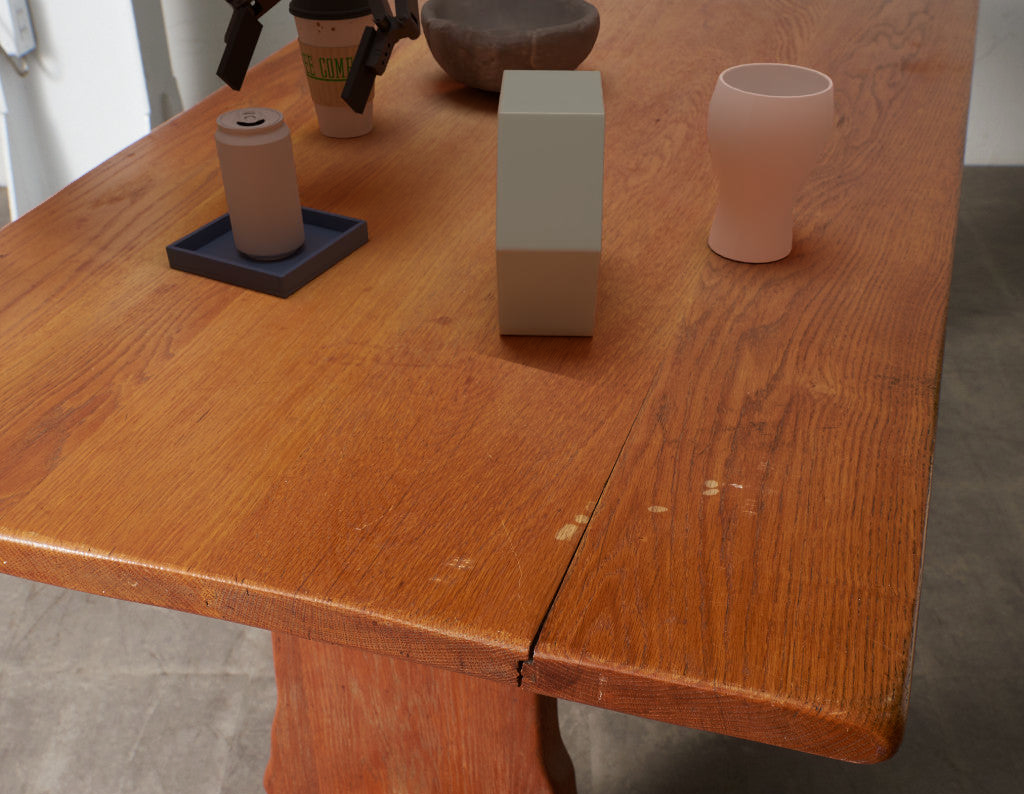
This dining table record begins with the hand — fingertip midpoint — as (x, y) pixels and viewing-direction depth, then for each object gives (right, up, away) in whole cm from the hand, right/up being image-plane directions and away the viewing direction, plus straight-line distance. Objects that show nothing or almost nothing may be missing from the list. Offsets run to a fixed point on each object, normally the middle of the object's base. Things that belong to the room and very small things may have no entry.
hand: (287, 94), depth 89 cm
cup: (+42, -12, +6) cm, 44 cm away
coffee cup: (0, +8, +30) cm, 31 cm away
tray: (-3, -13, +4) cm, 14 cm away
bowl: (+20, +18, +42) cm, 50 cm away
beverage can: (-2, -13, +4) cm, 14 cm away
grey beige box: (+23, -19, -3) cm, 30 cm away
